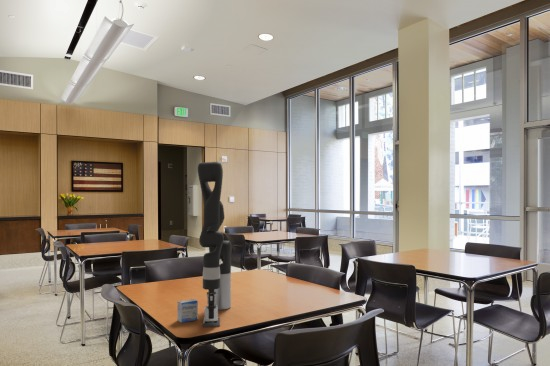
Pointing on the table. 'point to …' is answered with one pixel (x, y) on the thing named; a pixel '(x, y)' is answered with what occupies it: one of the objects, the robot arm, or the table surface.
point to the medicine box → (187, 310)
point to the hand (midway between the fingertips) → (211, 316)
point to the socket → (206, 315)
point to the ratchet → (211, 323)
